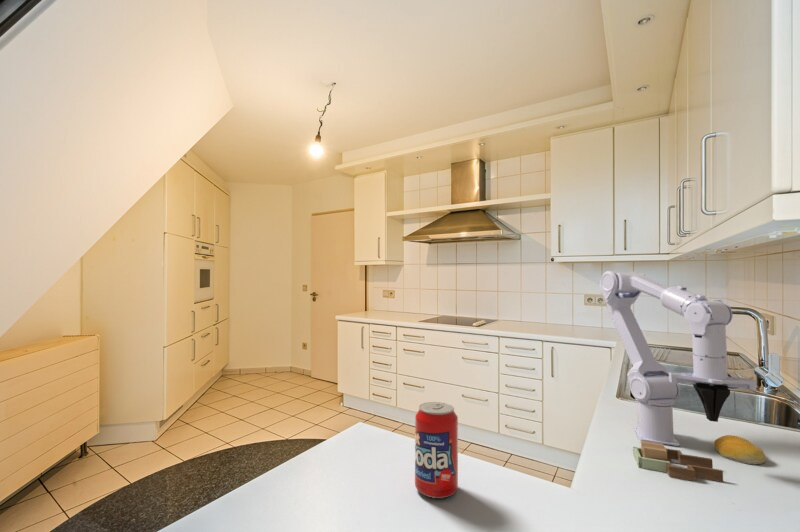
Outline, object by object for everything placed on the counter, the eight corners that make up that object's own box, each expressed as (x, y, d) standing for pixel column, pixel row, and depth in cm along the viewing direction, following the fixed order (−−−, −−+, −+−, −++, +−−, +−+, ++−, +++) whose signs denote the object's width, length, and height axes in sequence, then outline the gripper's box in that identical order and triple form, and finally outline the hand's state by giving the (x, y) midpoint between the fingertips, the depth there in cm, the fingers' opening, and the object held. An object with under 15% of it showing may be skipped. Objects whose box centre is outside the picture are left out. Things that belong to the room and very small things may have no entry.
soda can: (464, 486, 69) (464, 404, 70) (447, 507, 63) (447, 416, 64) (426, 475, 73) (427, 398, 74) (407, 494, 67) (407, 408, 68)
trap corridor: (631, 452, 85) (631, 443, 85) (708, 464, 79) (707, 454, 79) (640, 471, 76) (640, 461, 76) (727, 486, 70) (726, 476, 70)
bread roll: (726, 462, 81) (725, 443, 81) (709, 446, 89) (708, 429, 89) (775, 469, 78) (774, 450, 78) (753, 452, 86) (752, 434, 86)
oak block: (641, 459, 82) (640, 440, 82) (663, 463, 80) (662, 444, 80) (644, 467, 78) (644, 447, 78) (667, 471, 76) (667, 451, 77)
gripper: (674, 356, 80) (676, 420, 79) (762, 362, 74) (765, 431, 73) (665, 351, 86) (667, 411, 85) (746, 356, 80) (749, 420, 79)
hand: (712, 420), depth 80 cm, fingers closed
